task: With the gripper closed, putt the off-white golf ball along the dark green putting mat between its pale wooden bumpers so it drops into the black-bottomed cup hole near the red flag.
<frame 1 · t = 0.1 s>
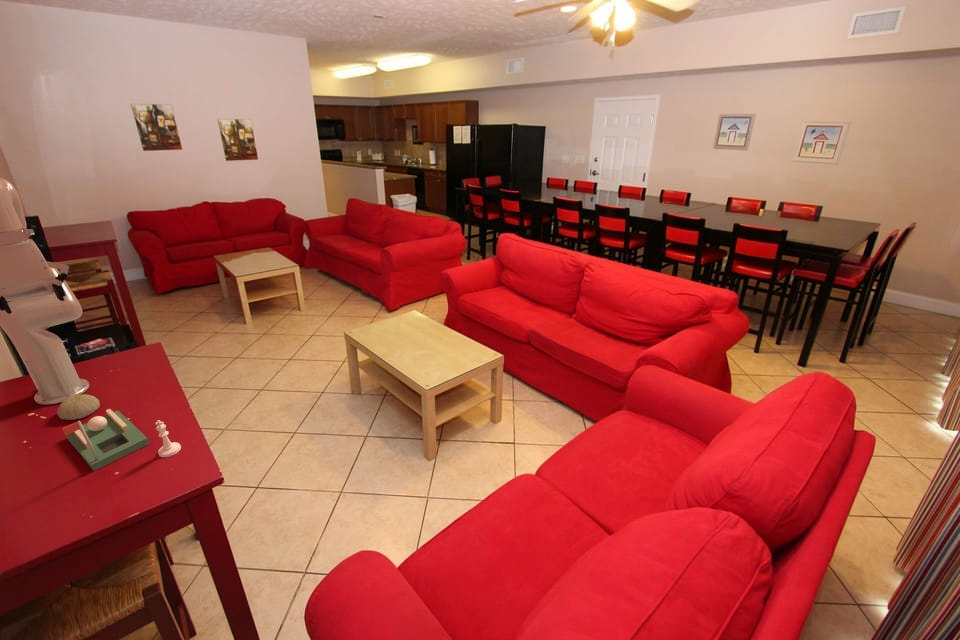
hand: (35, 305, 105), 37 cm above the table, tool pointing down, fingers open, 9 cm apart
chess piece: (170, 451, 112), on the table
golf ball: (97, 423, 114), point 4 cm above the table, touching putting mat
putting mat: (108, 441, 114), on the table
sea urchin shell: (81, 413, 125), on the table
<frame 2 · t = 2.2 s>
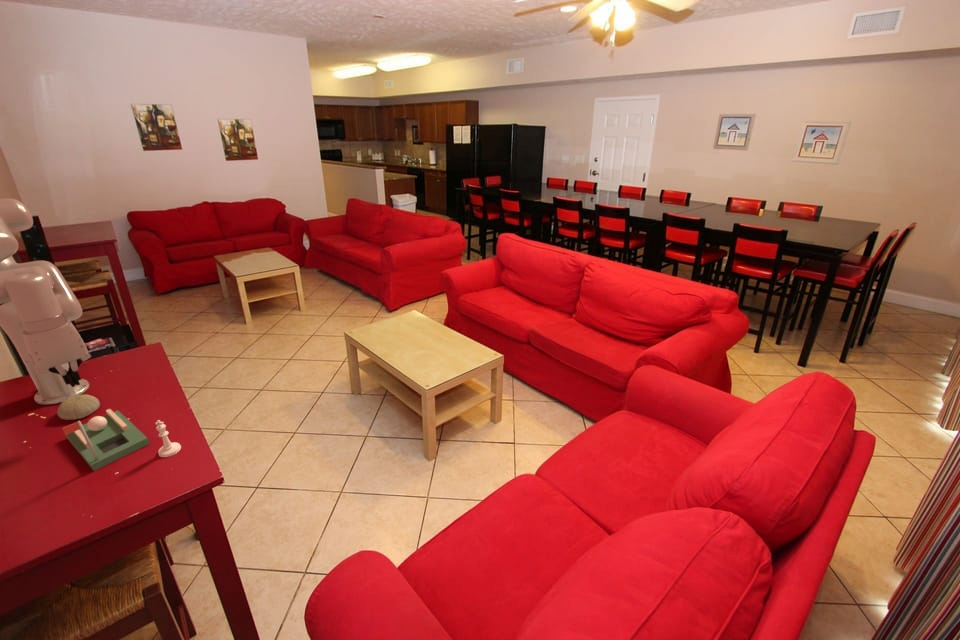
hand: (74, 384, 113), 14 cm above the table, tool pointing down, fingers closed
nothing on the table moved.
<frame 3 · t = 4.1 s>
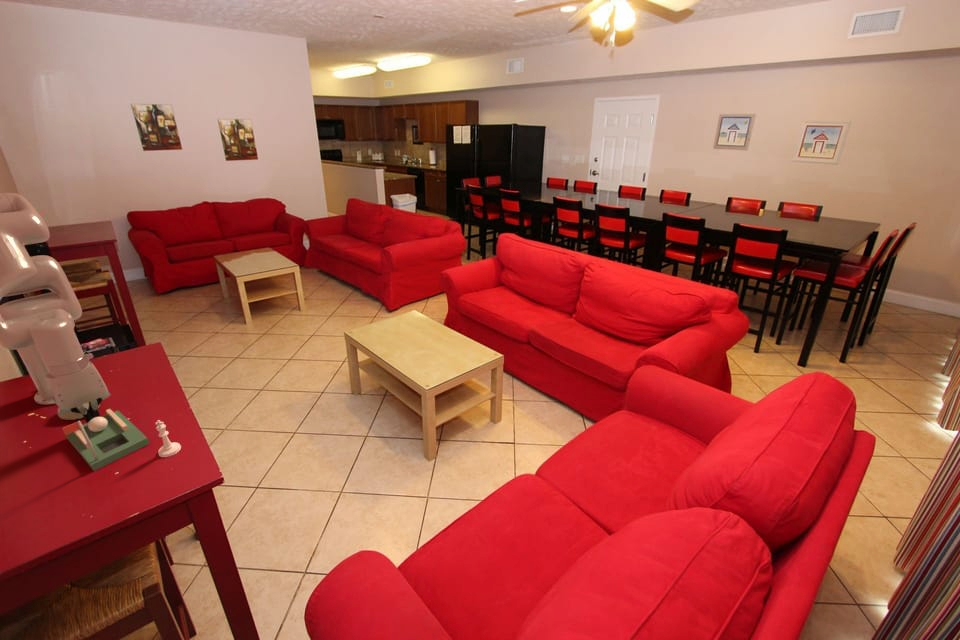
hand: (94, 421, 116), 3 cm above the table, tool pointing down, fingers closed
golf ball: (97, 424, 114), point 4 cm above the table, tilted 7°, touching gripper, putting mat
everything else where it was.
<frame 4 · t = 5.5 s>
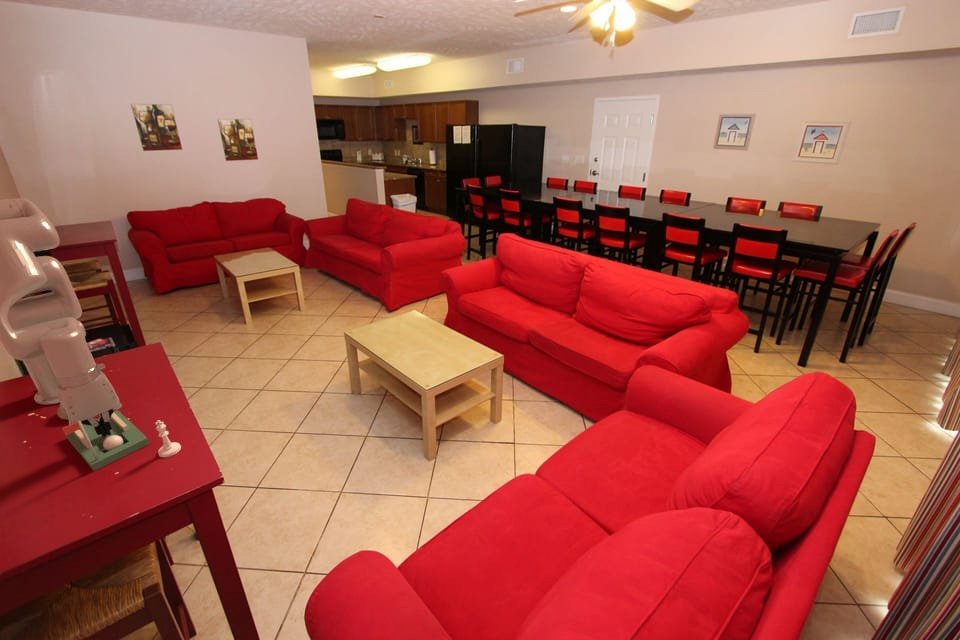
hand: (105, 433, 112), 3 cm above the table, tool pointing down, fingers closed
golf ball: (113, 443, 110), point 2 cm above the table, tilted 133°, touching putting mat
everything else where it was.
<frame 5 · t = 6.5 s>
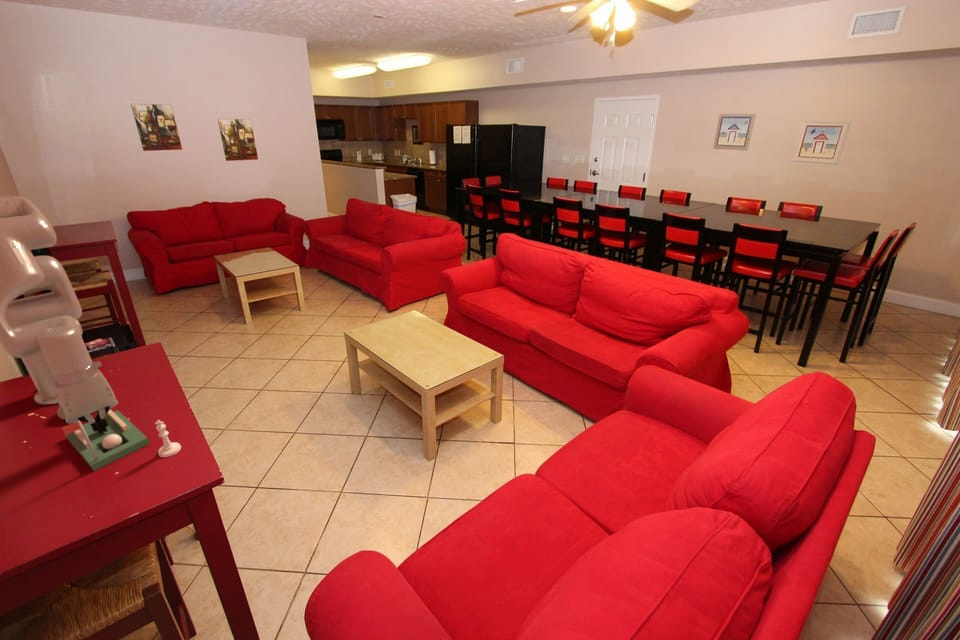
hand: (102, 430, 114), 3 cm above the table, tool pointing down, fingers closed
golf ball: (112, 441, 111), point 2 cm above the table, tilted 156°, touching putting mat
everything else where it was.
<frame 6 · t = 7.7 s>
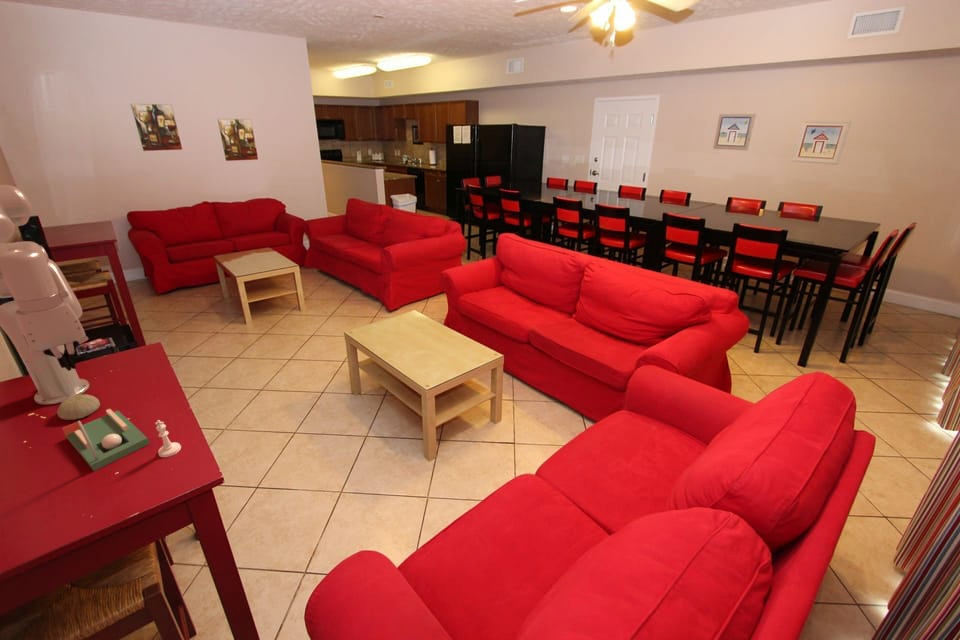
hand: (70, 367, 107), 21 cm above the table, tool pointing down, fingers closed
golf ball: (111, 441, 111), point 2 cm above the table, tilted 162°, touching putting mat
everything else where it was.
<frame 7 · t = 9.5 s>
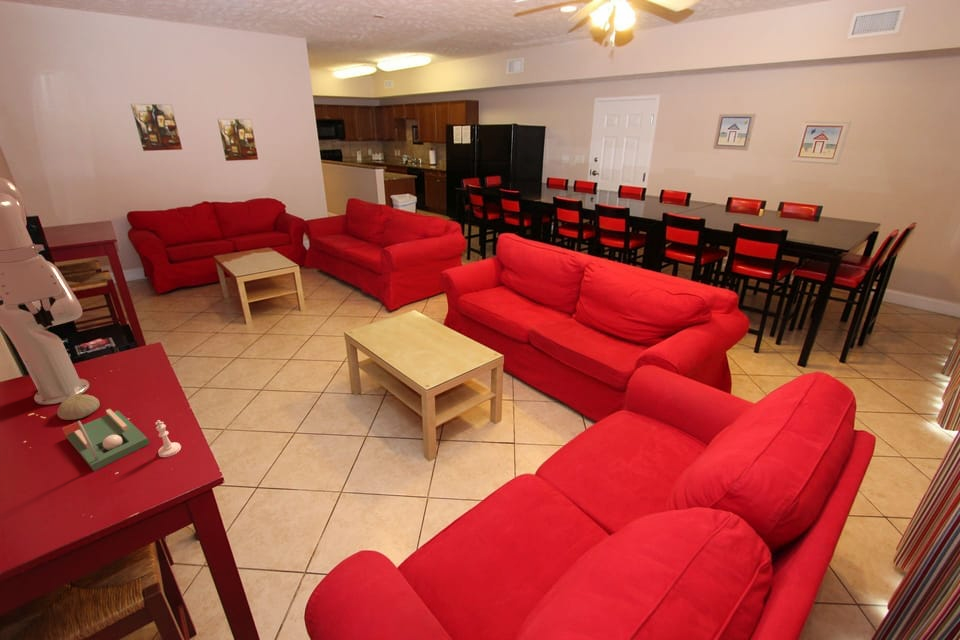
hand: (47, 325, 105), 32 cm above the table, tool pointing down, fingers closed
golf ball: (112, 442, 111), point 2 cm above the table, tilted 145°, touching putting mat
everything else where it was.
at the end: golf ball 0.1 cm from the target spot, point 2.2 cm above the table; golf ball moved 9.3 cm from its start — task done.
